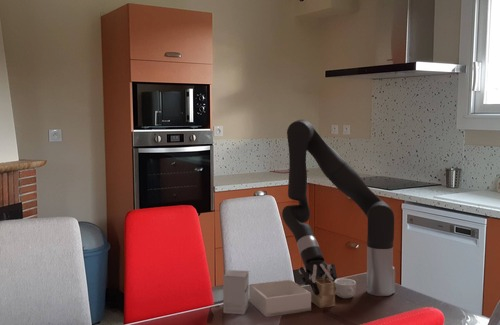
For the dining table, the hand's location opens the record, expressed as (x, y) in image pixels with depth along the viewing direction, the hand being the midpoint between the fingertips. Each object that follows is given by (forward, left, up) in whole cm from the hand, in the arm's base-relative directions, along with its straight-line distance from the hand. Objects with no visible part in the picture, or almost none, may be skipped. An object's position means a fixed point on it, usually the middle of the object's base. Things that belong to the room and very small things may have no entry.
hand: (325, 293), depth 172 cm
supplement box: (+30, -7, -5) cm, 31 cm away
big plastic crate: (+15, -5, -4) cm, 16 cm away
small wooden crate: (0, -2, -4) cm, 5 cm away
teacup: (-11, -5, -5) cm, 13 cm away
